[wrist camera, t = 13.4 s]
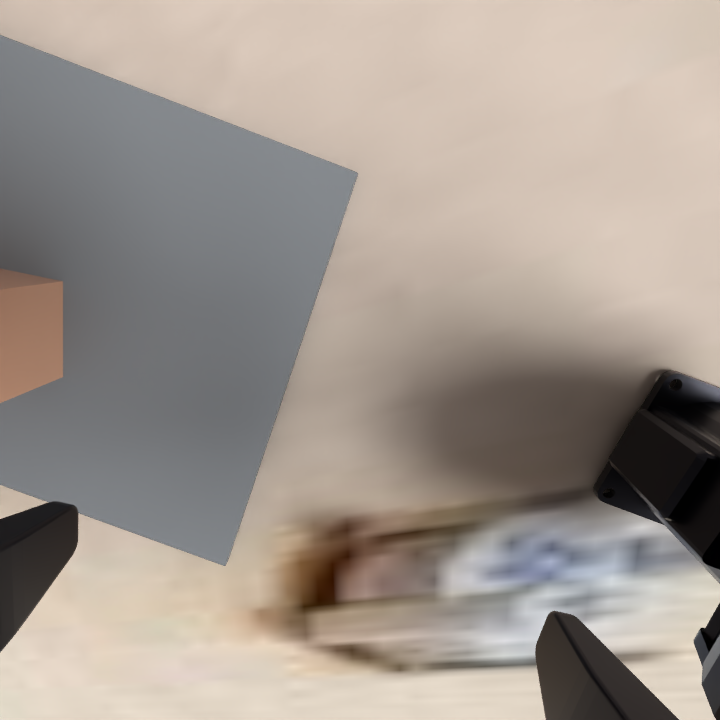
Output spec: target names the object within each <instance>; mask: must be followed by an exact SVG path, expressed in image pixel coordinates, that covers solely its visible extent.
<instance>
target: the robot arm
mask: <svg viewBox="0 0 720 720" xmlns="http://www.w3.org/2000/svg"><path fill="white" fill-rule="evenodd" d="M675 379H676V380H677V382H676V384H675V385H674V386H673V387H671V388H670V387H669V385H670V382H671V381H672V380H675ZM608 488H611V489H610V491H609V492H608V493H603V492H604V490H606V489H608ZM594 493H595V494H596V496H597V497H598V498H599V499H600V500H601V501H602V502H604V503H607V504H610V505H612V506H615V507H618V508H620V509H623V510H626V511H628V512H631V513H634V514H636V515H639V516H642V517H644V518H647V519H650V520H653V521H655V522H658V523H661V524H663V525H665V526H666V527H667V528H668V529H669V530H670V531H671V532H672V533H673V534H674V535H675V537H676V538H677V539H678V540H679V541H680V542H681V543H682V544H683V545H684V546H685V547H686V548H687V549H688V550H689V551H690V553H691V554H692V555H693V556H694V557H695V558H696V559H697V560H698V561H699V562H700V563H701V564H702V565H703V566H704V567H705V569H706V570H707V571H708V572H709V573H710V574H711V575H712V576H713V577H714V578H715V579H716V580H717V581H718V582H719V583H720V388H719V387H716V386H714V385H711V384H709V383H706V382H703V381H701V380H698V379H695V378H693V377H690V376H687V375H685V374H682V373H680V372H677V371H667V372H665V373H663V374H662V375H661V376H660V377H659V379H658V381H657V382H656V384H655V385H654V387H653V389H652V390H651V392H650V394H649V395H648V397H647V399H646V400H645V402H644V404H643V405H642V407H641V409H640V410H639V411H638V412H637V413H636V414H635V416H634V417H633V419H632V421H631V422H630V424H629V426H628V427H627V429H626V431H625V432H624V434H623V436H622V437H621V439H620V441H619V442H618V444H617V446H616V447H615V449H614V451H613V452H612V454H611V456H610V457H609V462H608V464H607V465H606V467H605V469H604V470H603V472H602V474H601V475H600V477H599V478H598V480H597V482H596V483H595V486H594ZM77 543H78V509H77V507H76V506H75V505H73V504H68V503H63V502H59V501H52V502H49V503H46V504H43V505H40V506H37V507H34V508H31V509H28V510H26V511H23V512H20V513H17V514H14V515H11V516H8V517H5V518H2V519H0V652H1V651H2V650H3V649H4V647H5V646H6V645H7V644H8V642H9V641H10V640H11V639H12V638H13V636H14V635H15V634H16V633H17V631H18V630H19V629H20V627H21V626H22V625H23V623H24V622H25V621H26V619H27V618H28V616H29V615H30V614H31V612H32V611H33V610H34V608H35V607H36V605H37V604H38V603H39V601H40V600H41V598H42V597H43V596H44V594H45V593H46V591H47V590H48V589H49V587H50V586H51V584H52V583H53V582H54V580H55V579H56V577H57V576H58V575H59V573H60V572H61V570H62V569H63V568H64V566H65V565H66V564H67V562H68V561H69V559H70V558H71V557H72V555H73V553H74V551H75V549H76V547H77ZM694 644H695V647H696V650H697V653H698V655H699V658H700V661H701V664H702V666H703V671H702V686H703V689H704V691H705V694H706V696H707V699H708V702H709V704H710V707H711V709H712V712H713V715H714V717H715V718H716V720H720V603H719V605H718V607H717V608H716V610H715V612H714V614H713V616H712V617H711V619H710V621H709V623H708V624H707V626H706V628H701V629H700V630H699V632H698V634H697V635H696V637H695V639H694ZM535 654H536V663H537V669H538V675H539V681H540V687H541V693H542V699H543V705H544V711H545V718H546V720H679V719H678V718H677V717H676V716H675V715H674V714H673V713H672V712H671V711H670V710H669V709H668V708H667V707H666V706H665V705H664V704H663V703H662V702H661V701H660V700H659V699H658V698H657V697H656V696H655V695H654V694H653V693H652V692H651V691H650V690H649V689H648V688H647V687H646V686H645V685H644V684H643V683H642V682H641V681H640V680H639V679H638V678H637V677H636V676H635V675H634V674H633V673H632V672H631V671H630V670H629V669H628V668H627V667H626V666H625V665H624V664H623V663H622V662H621V661H620V660H619V659H618V658H617V657H616V656H615V655H614V654H613V653H612V652H611V651H610V650H609V649H608V648H607V647H606V646H605V645H604V644H603V643H602V642H601V641H600V640H599V639H598V638H597V637H596V636H595V635H594V634H593V633H592V632H591V631H590V630H589V629H588V628H587V627H586V626H585V625H584V624H583V623H582V622H581V621H580V620H579V619H578V618H577V617H575V616H574V615H571V614H567V613H562V612H558V611H552V612H550V613H549V615H548V616H547V619H546V621H545V624H544V626H543V629H542V631H541V634H540V636H539V639H538V641H537V644H536V652H535Z"/></svg>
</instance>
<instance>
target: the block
mask: <svg viewBox="0 0 720 720" xmlns="http://www.w3.org/2000/svg"><path fill="white" fill-rule="evenodd" d="M62 377H63V281H59V280H54V279H49V278H44V277H40V276H35V275H30V274H25V273H20V272H15V271H10V270H6V269H1V268H0V403H2V402H4V401H7V400H9V399H11V398H14V397H16V396H19V395H21V394H23V393H26V392H28V391H31V390H33V389H35V388H38V387H40V386H43V385H45V384H47V383H50V382H52V381H55V380H57V379H59V378H62Z"/></svg>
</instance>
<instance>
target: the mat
mask: <svg viewBox="0 0 720 720" xmlns="http://www.w3.org/2000/svg"><path fill="white" fill-rule="evenodd" d="M357 176H358V173H357V172H355V171H352V170H350V169H347V168H344V167H342V166H339V165H337V164H334V163H331V162H329V161H326V160H324V159H321V158H318V157H316V156H313V155H311V154H308V153H305V152H303V151H300V150H298V149H295V148H292V147H290V146H287V145H285V144H282V143H279V142H277V141H274V140H272V139H269V138H266V137H264V136H261V135H259V134H256V133H253V132H251V131H248V130H246V129H243V128H240V127H238V126H235V125H233V124H230V123H227V122H225V121H222V120H220V119H217V118H214V117H212V116H209V115H207V114H204V113H201V112H199V111H196V110H194V109H191V108H188V107H186V106H183V105H181V104H178V103H175V102H173V101H170V100H168V99H165V98H162V97H160V96H157V95H155V94H152V93H149V92H147V91H144V90H142V89H139V88H136V87H134V86H131V85H129V84H126V83H124V82H121V81H118V80H116V79H113V78H111V77H108V76H105V75H103V74H100V73H98V72H95V71H92V70H90V69H87V68H85V67H82V66H79V65H77V64H74V63H72V62H69V61H66V60H64V59H61V58H59V57H56V56H53V55H51V54H48V53H46V52H43V51H40V50H38V49H35V48H33V47H30V46H27V45H25V44H22V43H20V42H17V41H14V40H12V39H9V38H7V37H4V36H1V35H0V268H1V269H6V270H10V271H15V272H20V273H25V274H30V275H35V276H40V277H44V278H49V279H54V280H59V281H63V377H62V378H59V379H57V380H55V381H52V382H50V383H47V384H45V385H43V386H40V387H38V388H35V389H33V390H31V391H28V392H26V393H23V394H21V395H19V396H16V397H14V398H11V399H9V400H7V401H4V402H2V403H0V485H2V486H5V487H8V488H11V489H14V490H16V491H19V492H22V493H25V494H27V495H30V496H33V497H36V498H38V499H41V500H44V501H47V502H52V501H59V502H63V503H68V504H73V505H75V506H76V507H77V509H78V513H80V514H83V515H85V516H88V517H91V518H94V519H96V520H99V521H102V522H105V523H107V524H110V525H113V526H116V527H118V528H121V529H124V530H127V531H129V532H132V533H135V534H138V535H140V536H143V537H146V538H149V539H152V540H154V541H157V542H160V543H163V544H165V545H168V546H171V547H174V548H176V549H179V550H182V551H185V552H187V553H190V554H193V555H196V556H198V557H201V558H204V559H207V560H209V561H212V562H215V563H218V564H221V565H223V566H225V565H226V564H227V562H228V559H229V556H230V553H231V550H232V547H233V544H234V541H235V538H236V535H237V532H238V529H239V527H240V524H241V521H242V518H243V515H244V512H245V509H246V506H247V503H248V500H249V497H250V494H251V491H252V488H253V485H254V482H255V479H256V476H257V473H258V470H259V467H260V464H261V461H262V458H263V455H264V452H265V449H266V446H267V443H268V440H269V437H270V434H271V431H272V428H273V425H274V422H275V420H276V417H277V414H278V411H279V408H280V405H281V402H282V399H283V396H284V393H285V390H286V387H287V384H288V381H289V378H290V375H291V372H292V369H293V366H294V363H295V360H296V357H297V354H298V351H299V348H300V345H301V342H302V339H303V336H304V333H305V330H306V327H307V324H308V321H309V318H310V315H311V313H312V310H313V307H314V304H315V301H316V298H317V295H318V292H319V289H320V286H321V283H322V280H323V277H324V274H325V271H326V268H327V265H328V262H329V259H330V256H331V253H332V250H333V247H334V244H335V241H336V238H337V235H338V232H339V229H340V226H341V223H342V220H343V217H344V214H345V211H346V208H347V205H348V203H349V200H350V197H351V194H352V191H353V188H354V185H355V182H356V179H357Z"/></svg>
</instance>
